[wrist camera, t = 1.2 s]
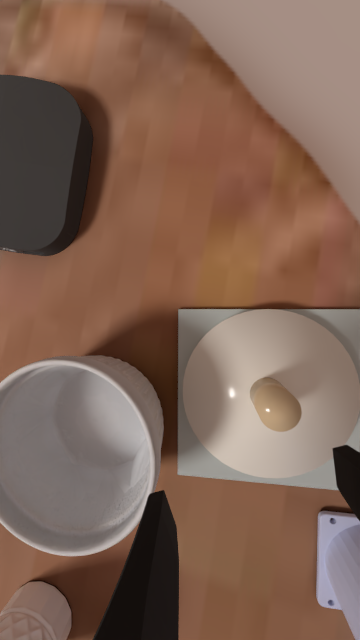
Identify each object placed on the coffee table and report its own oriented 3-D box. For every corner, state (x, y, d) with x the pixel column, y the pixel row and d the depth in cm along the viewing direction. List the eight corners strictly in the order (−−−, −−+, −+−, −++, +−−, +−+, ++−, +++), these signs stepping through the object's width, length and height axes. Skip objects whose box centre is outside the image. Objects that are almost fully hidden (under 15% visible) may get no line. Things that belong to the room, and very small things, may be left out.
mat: (359, 309, 18) (363, 309, 18) (355, 488, 19) (358, 492, 18) (178, 309, 20) (178, 309, 20) (178, 471, 21) (177, 474, 20)
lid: (356, 309, 18) (398, 307, 14) (352, 479, 18) (391, 524, 14) (183, 309, 20) (177, 308, 16) (183, 464, 20) (177, 500, 16)
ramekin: (88, 317, 21) (30, 319, 15) (202, 398, 20) (199, 442, 13) (21, 425, 23) (-61, 474, 16) (125, 508, 21) (85, 599, 15)
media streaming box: (102, 110, 21) (84, 76, 18) (76, 263, 22) (55, 255, 19) (-31, 98, 23) (-67, 66, 20) (-51, 241, 24) (-88, 230, 21)
